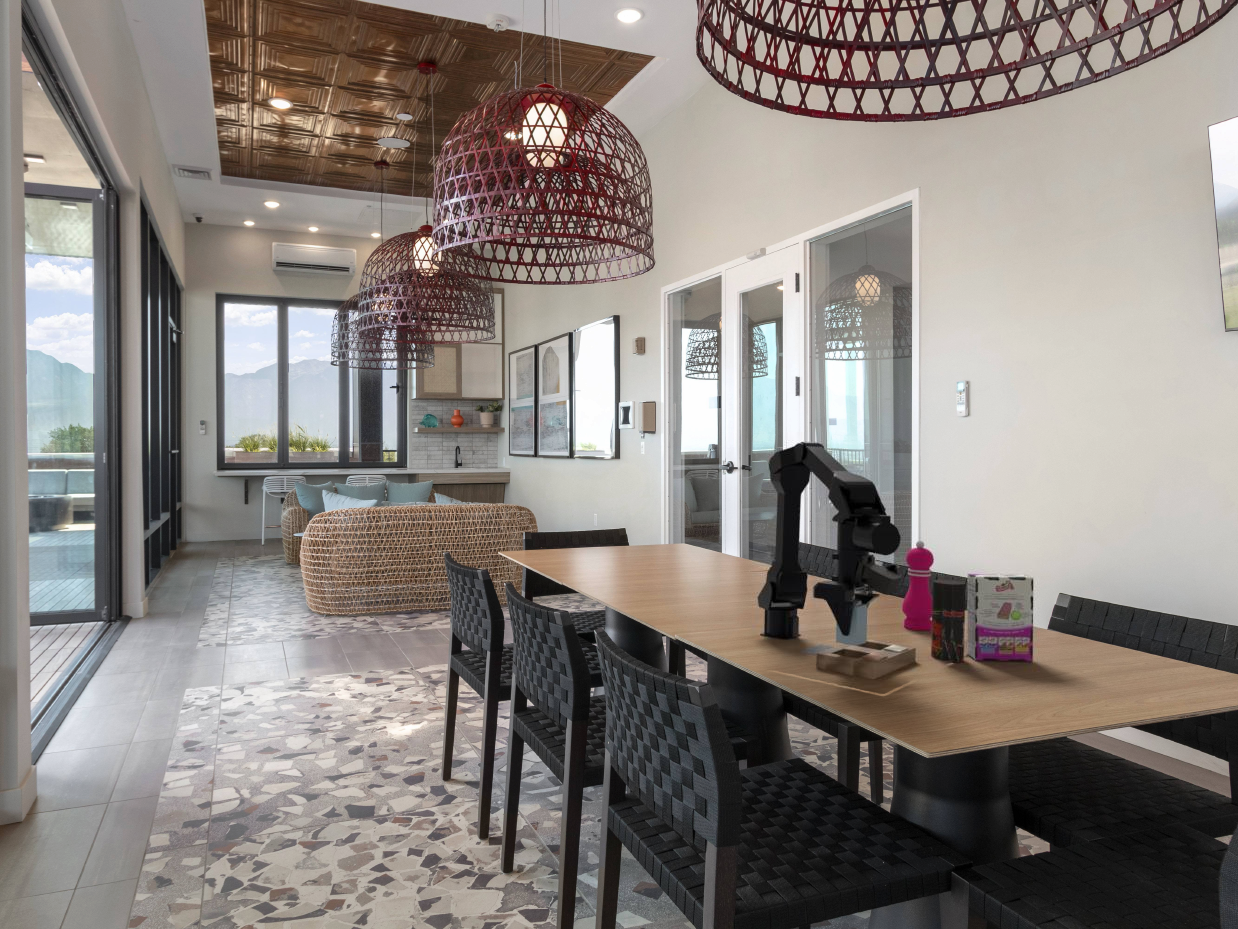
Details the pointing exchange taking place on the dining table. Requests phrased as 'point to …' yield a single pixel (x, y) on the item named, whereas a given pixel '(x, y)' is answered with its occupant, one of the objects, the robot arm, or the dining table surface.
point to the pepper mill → (918, 589)
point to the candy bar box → (1000, 617)
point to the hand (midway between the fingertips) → (851, 633)
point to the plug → (855, 627)
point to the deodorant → (948, 620)
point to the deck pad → (816, 649)
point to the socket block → (866, 658)
